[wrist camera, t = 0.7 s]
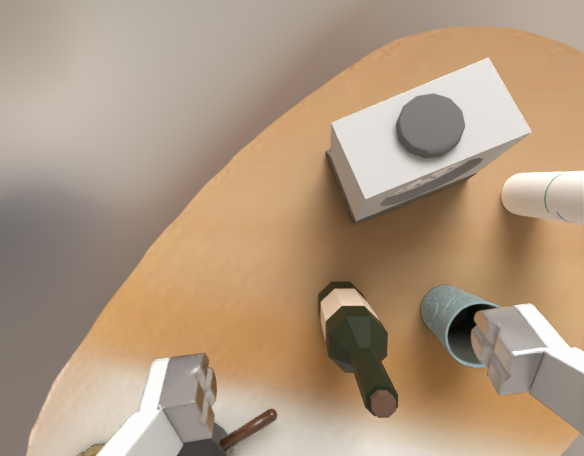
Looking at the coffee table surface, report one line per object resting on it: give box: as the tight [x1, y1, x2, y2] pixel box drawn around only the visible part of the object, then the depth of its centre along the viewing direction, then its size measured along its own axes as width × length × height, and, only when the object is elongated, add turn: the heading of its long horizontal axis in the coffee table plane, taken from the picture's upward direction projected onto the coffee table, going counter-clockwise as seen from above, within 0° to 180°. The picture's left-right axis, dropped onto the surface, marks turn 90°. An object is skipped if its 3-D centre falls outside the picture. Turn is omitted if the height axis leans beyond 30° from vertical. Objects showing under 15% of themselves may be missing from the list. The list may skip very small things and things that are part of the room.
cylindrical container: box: [501, 171, 584, 225], centre depth 50 cm, size 7×7×25 cm
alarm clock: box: [326, 57, 532, 225], centre depth 52 cm, size 20×16×20 cm
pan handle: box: [219, 409, 277, 451], centre depth 64 cm, size 12×2×2 cm, turn 124°
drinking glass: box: [421, 285, 500, 368], centre depth 59 cm, size 10×10×12 cm
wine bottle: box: [319, 282, 398, 418], centre depth 50 cm, size 8×8×30 cm
